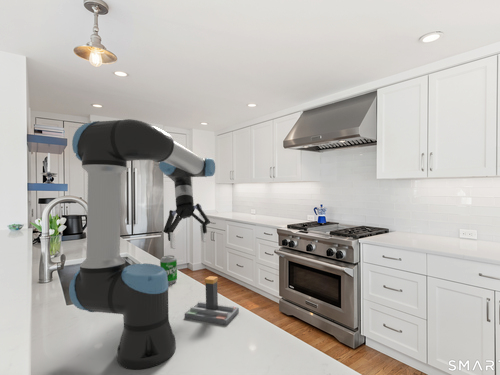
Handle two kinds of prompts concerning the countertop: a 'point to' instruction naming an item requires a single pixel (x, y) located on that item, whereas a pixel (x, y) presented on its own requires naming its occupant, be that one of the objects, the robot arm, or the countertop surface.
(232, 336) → the countertop surface
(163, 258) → the soda can
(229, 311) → the grey base
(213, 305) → the breaker handle
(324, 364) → the countertop surface
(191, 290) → the countertop surface
